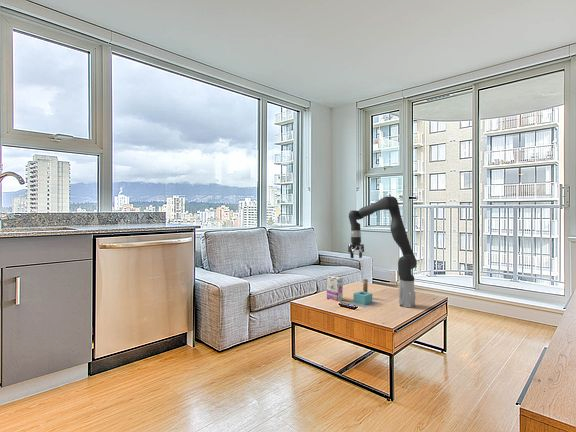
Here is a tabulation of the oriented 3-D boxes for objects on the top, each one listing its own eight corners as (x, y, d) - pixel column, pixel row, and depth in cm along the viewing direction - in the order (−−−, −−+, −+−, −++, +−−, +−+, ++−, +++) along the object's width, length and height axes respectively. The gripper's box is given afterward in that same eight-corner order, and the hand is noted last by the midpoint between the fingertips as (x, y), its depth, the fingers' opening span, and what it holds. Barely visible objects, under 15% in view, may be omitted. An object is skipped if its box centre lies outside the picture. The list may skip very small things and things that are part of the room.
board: (378, 304, 226) (378, 302, 226) (365, 309, 215) (365, 307, 215) (361, 299, 236) (361, 298, 236) (347, 304, 225) (347, 302, 225)
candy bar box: (342, 301, 232) (343, 278, 231) (337, 302, 229) (337, 279, 228) (331, 297, 241) (331, 275, 240) (326, 299, 238) (326, 276, 237)
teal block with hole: (372, 302, 226) (372, 293, 226) (364, 305, 220) (364, 296, 220) (361, 299, 233) (361, 290, 233) (353, 302, 227) (353, 293, 227)
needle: (368, 299, 237) (368, 279, 237) (365, 300, 235) (366, 280, 235) (364, 298, 239) (364, 278, 239) (362, 299, 237) (362, 279, 237)
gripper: (352, 236, 248) (352, 258, 246) (366, 236, 255) (366, 258, 254) (345, 236, 254) (345, 258, 253) (359, 236, 262) (359, 257, 260)
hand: (356, 258), depth 253 cm, fingers open, 8 cm apart
